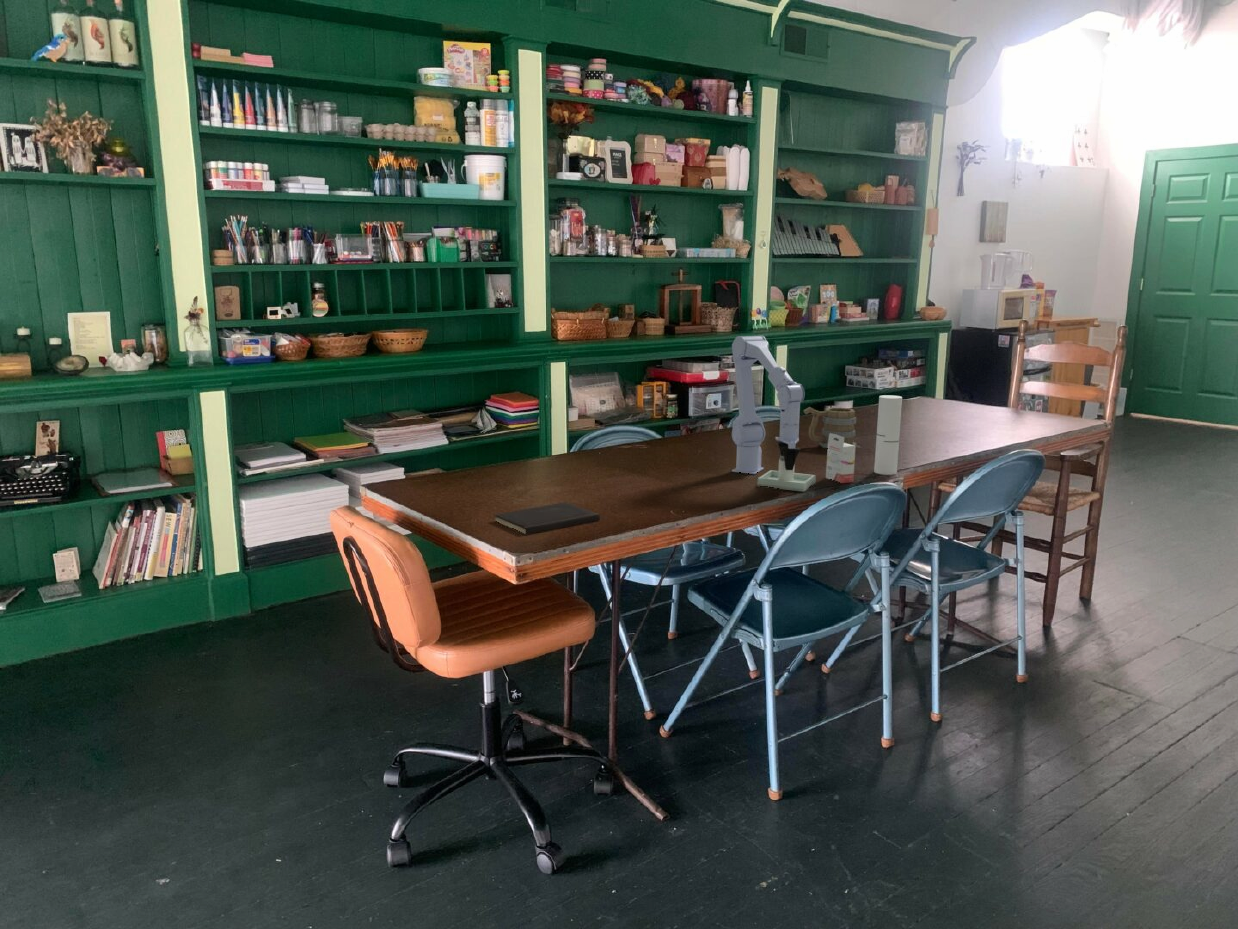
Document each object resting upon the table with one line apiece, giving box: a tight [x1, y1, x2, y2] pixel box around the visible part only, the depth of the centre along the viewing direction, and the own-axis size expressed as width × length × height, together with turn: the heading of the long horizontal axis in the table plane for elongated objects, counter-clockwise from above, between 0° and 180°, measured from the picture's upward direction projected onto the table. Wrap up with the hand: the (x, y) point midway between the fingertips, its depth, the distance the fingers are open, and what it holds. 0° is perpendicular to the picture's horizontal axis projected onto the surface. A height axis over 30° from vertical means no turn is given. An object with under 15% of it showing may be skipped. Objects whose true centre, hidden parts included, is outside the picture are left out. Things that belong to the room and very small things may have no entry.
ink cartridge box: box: [825, 433, 856, 484], centre depth 295 cm, size 9×5×15 cm, turn 23°
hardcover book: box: [493, 501, 601, 535], centre depth 248 cm, size 16×23×2 cm
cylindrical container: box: [873, 394, 903, 476], centre depth 305 cm, size 7×7×25 cm
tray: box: [757, 470, 817, 493], centre depth 289 cm, size 13×15×2 cm
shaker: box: [777, 455, 795, 482], centre depth 289 cm, size 5×5×8 cm
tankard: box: [803, 406, 858, 449], centre depth 347 cm, size 20×13×15 cm, turn 92°
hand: (787, 467), depth 288 cm, fingers open, 7 cm apart
